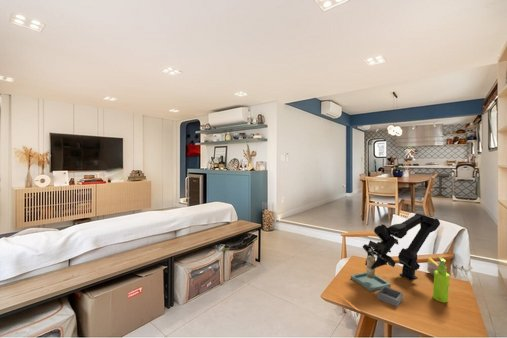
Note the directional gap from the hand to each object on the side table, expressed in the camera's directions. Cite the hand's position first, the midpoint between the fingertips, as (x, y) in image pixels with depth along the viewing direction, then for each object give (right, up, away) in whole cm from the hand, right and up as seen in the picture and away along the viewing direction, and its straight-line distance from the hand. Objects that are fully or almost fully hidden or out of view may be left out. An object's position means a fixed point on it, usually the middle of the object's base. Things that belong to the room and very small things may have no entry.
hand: (368, 266), depth 130 cm
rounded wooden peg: (+1, -6, +1) cm, 6 cm away
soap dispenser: (+29, -11, -12) cm, 34 cm away
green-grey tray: (+1, -9, +1) cm, 10 cm away
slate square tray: (+4, -11, -14) cm, 18 cm away
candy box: (+42, -10, +8) cm, 44 cm away
